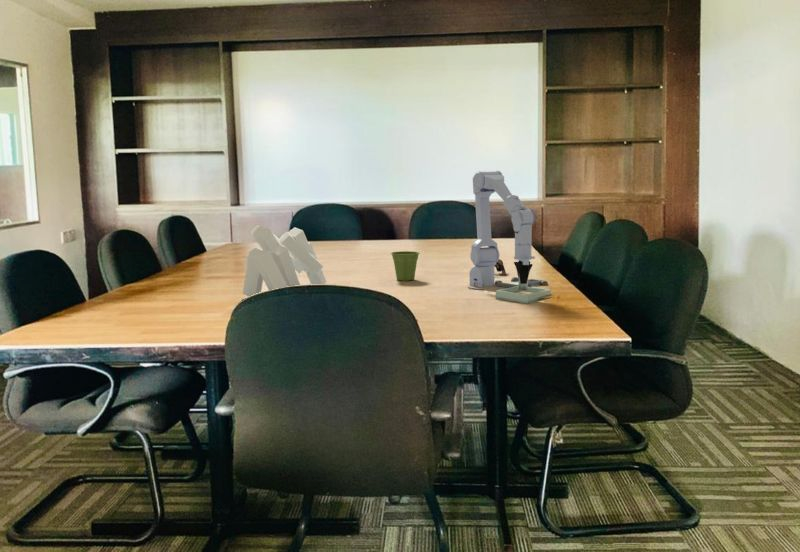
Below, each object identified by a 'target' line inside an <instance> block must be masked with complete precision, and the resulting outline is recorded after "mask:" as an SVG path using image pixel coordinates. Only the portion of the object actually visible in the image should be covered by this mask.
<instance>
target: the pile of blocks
mask: <svg viewBox="0 0 800 552" xmlns="http://www.w3.org/2000/svg"><path fill="white" fill-rule="evenodd" d="M249 233H250V235H251V236H252V237H253V238H254V239H255V241H256V242H257V243H258V245H259V247H260V248H261V249H259V248H257V247H253V248H252V249H251V250H249V251H248V255H247V257H246V258H245V259H244V262H243V263H244V264H245V265H246V270H245V277H244V282H243V287H242V295H244V296H246V297H249V296H251V295H253V294H256V293H259V292H261V293H262V288H263V282H264V284H265V285H266V287H267V289H268V291H269V290H272V289H276V288H282V287H287V286H295V285H300V286H301V283H300V281H299V278H298V275H297V273H298V274H301V273H302V272H305V273H306V276H307V278H308V280H309V283H310V285H311V284H325V285H326V283H327V280H326V276H325V275H324V273H323V272H324V271H323V268H324V266H323V264H321V262H320V261H319V260H318V258H317V255H316V252H315V250H314V248H313V245H312V243H311V241H308V239H307V236H306V234H305V232H304V230H303V229H300V228H298V227H293V228H292V229H290V230H289V231H285V232H284V233H283V234H282V235H281V236H280V237H279V238H278V236H277V235H275V234H274V233H273V231H272V230H271V229H270V228H267V227H263V226H260V225H259V224H257V225H256V226H254V227H253V228H252V229H251V230H250V232H249Z"/></svg>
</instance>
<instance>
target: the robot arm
mask: <svg viewBox="0 0 800 552" xmlns="http://www.w3.org/2000/svg"><path fill="white" fill-rule="evenodd" d="M472 189H473V195H474V200H475V201H474V202H475V217H476V233H477V234H476V237H477V239H476V240H475V241H474V242H473V243H472V244H471V251H470V255H469V256H470V260H471V262H472V264H473V265H474V266H473V267H472V268H470V270H469V286H471V287H467V289H469V290H477V291H483V292H484V291H486V289H483V288H485V287H491V286H495V267H494V265H496V262H498V260H499V259H500V252H499V248H498V242H496V241H495V240H493V238H492V223H491V221H492V220H491V207H490V197H491V195H492V194H494V193H496V194H497V195H498V196H499V197H500V198H501V199H502V200H503V207H504V208H505V210H506V211H507V212H508V213H509V214H510V216H511V218H510V219H511V220H510V221H511V223H512V229H513V231H514V256H513V259H514V260H517V261H513V264H514V267H515V269H516V272H517V278H518V279H519V278H520V283H521V284H527V281H528V279H529V275H530V272H531V269H532V268H533V264H532V263H531V260H534V259H536V256H533V255H532V244H533V243H532V241H533V240H532V239H533V238H532V236H533V233H532V229H533V228H532V227H533V225H534V224H535V223H536V213H535V212H534V210H533V209H532V208H528V207H526V205H524V203H523V202H522V201H521V199H520V197H519V196H518V195H515V194H512V192H511V191H510V190H509V188H508V186H507V185H506V183H505V176H504V175H503V173H502V172H501V171H500V170H496V171H493V170H492V171H480V170H479V171H476V172H475V173H474V175H473V176H472ZM474 287H479V288H474Z"/></svg>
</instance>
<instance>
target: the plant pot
mask: <svg viewBox="0 0 800 552" xmlns="http://www.w3.org/2000/svg"><path fill="white" fill-rule="evenodd" d="M419 254H420V251H412V250H411V251H410V250H409V251H408V250H406V251H405V250H404V251H392V252H391V253H390V255H391V256H392V260H393V264H394V271H395V276H396V280H397V281H402V282H404V281H405V282H409V281H414V280H415V276H416V269H417V263H418V260H419Z"/></svg>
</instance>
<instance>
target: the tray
mask: <svg viewBox="0 0 800 552" xmlns="http://www.w3.org/2000/svg"><path fill="white" fill-rule="evenodd" d="M520 291H521V292H522V291H523V292H528V293H529V292H531V293H529V294H527V293H519V292H520ZM548 295H552V289H547V288H540V287H528V290H519V286H515V287H511V288H510V287H505V288H501V289H497V290H495V300H498V301H499V300H500V301H505V302H506V301H507V302H512V303H513V302H514V303H520V304H526V305H527V304H533V303H537V302H541V301H545V300H549V299H552V297H551V296H549V297H544V296H548Z"/></svg>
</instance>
